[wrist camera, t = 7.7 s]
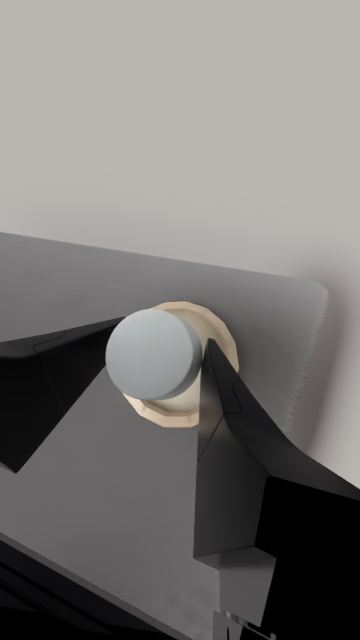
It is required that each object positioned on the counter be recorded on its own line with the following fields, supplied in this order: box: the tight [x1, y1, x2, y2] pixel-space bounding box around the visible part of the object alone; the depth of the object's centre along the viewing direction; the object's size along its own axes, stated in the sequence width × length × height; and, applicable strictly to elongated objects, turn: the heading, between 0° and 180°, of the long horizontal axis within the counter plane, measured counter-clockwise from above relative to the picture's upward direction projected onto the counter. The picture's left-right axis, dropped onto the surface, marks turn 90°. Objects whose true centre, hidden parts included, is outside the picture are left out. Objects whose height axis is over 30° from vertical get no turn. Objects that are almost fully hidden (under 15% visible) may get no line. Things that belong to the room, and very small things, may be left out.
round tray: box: [123, 301, 239, 427], centre depth 19 cm, size 15×15×2 cm
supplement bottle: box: [106, 309, 203, 400], centre depth 11 cm, size 5×5×10 cm
